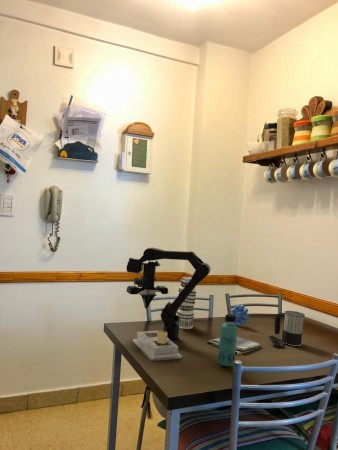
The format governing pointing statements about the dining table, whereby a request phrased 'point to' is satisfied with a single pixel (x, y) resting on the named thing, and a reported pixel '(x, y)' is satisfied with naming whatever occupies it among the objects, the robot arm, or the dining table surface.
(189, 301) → the leaning tower model
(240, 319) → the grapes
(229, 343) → the beverage bottle
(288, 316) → the milk frother
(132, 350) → the dining table surface
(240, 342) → the dish towel
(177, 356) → the aluminium jig
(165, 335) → the solid brass peg
